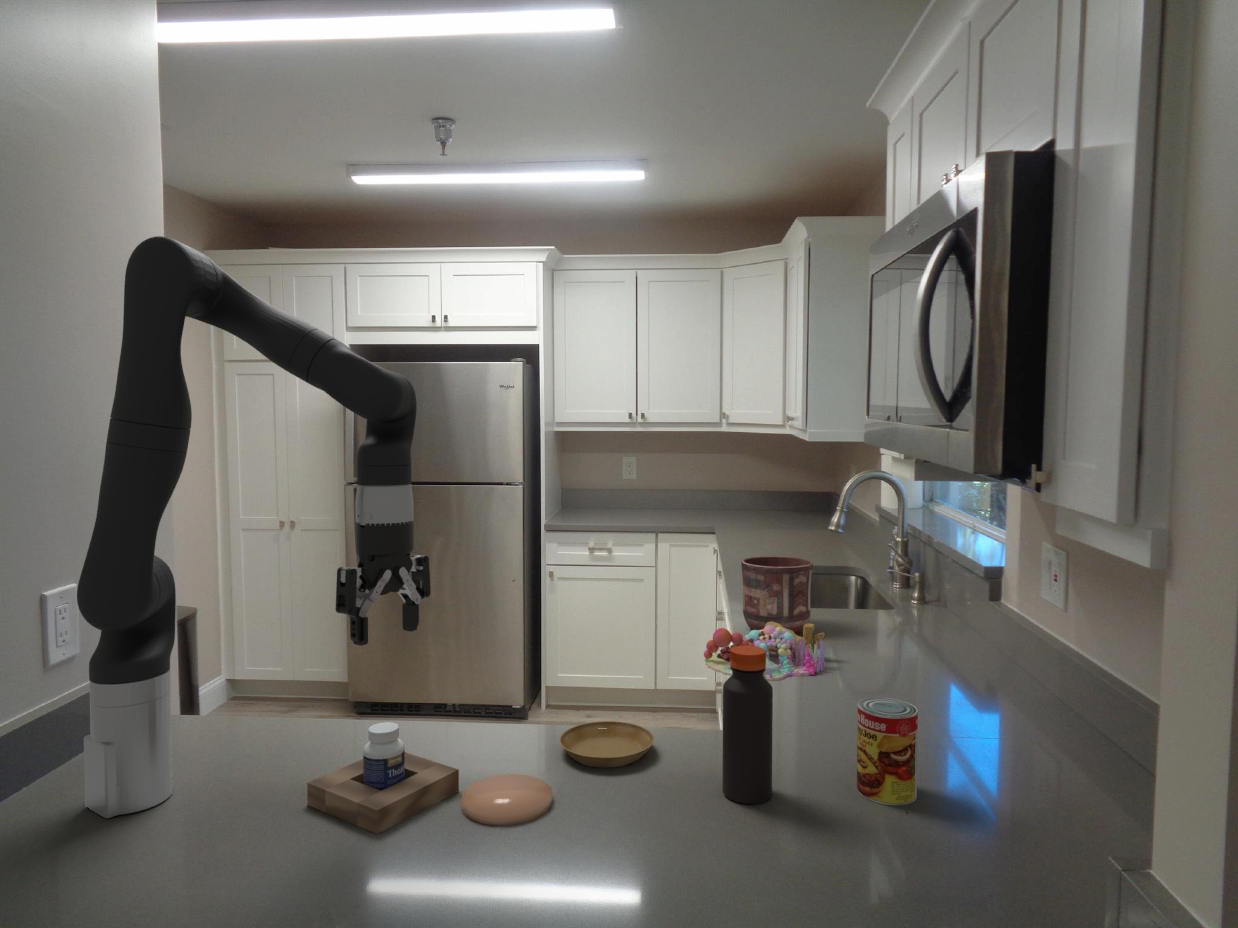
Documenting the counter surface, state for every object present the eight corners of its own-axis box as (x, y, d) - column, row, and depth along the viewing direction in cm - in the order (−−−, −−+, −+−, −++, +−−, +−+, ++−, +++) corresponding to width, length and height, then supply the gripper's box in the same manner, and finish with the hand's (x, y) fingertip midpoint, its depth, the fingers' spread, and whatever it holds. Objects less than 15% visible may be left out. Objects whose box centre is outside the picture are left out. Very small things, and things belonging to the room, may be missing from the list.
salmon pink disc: (511, 834, 95) (511, 824, 95) (442, 808, 102) (442, 799, 102) (569, 796, 105) (569, 787, 105) (503, 775, 112) (503, 767, 112)
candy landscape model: (744, 644, 184) (744, 606, 184) (840, 661, 170) (840, 619, 170) (690, 670, 164) (691, 627, 164) (795, 691, 150) (795, 644, 150)
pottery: (797, 644, 183) (798, 569, 182) (730, 634, 192) (730, 562, 192) (821, 629, 197) (822, 559, 197) (757, 620, 207) (758, 553, 206)
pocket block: (377, 834, 95) (377, 810, 95) (307, 804, 103) (307, 782, 103) (458, 790, 107) (458, 769, 107) (390, 767, 115) (390, 747, 114)
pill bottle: (393, 808, 102) (392, 736, 101) (356, 805, 103) (355, 733, 102) (412, 790, 107) (411, 721, 107) (376, 787, 108) (375, 718, 108)
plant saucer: (542, 765, 116) (542, 748, 116) (582, 730, 130) (582, 715, 130) (634, 781, 110) (634, 763, 110) (666, 743, 124) (666, 727, 124)
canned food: (848, 780, 110) (848, 697, 110) (901, 778, 111) (902, 696, 110) (870, 806, 102) (871, 717, 102) (927, 804, 103) (928, 715, 103)
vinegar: (775, 786, 108) (776, 645, 108) (768, 808, 102) (769, 659, 101) (727, 779, 110) (728, 641, 110) (717, 800, 104) (718, 654, 103)
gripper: (405, 512, 112) (406, 623, 112) (321, 521, 100) (323, 645, 100) (443, 515, 108) (443, 630, 108) (360, 524, 96) (361, 653, 96)
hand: (385, 637), depth 104 cm, fingers open, 8 cm apart
